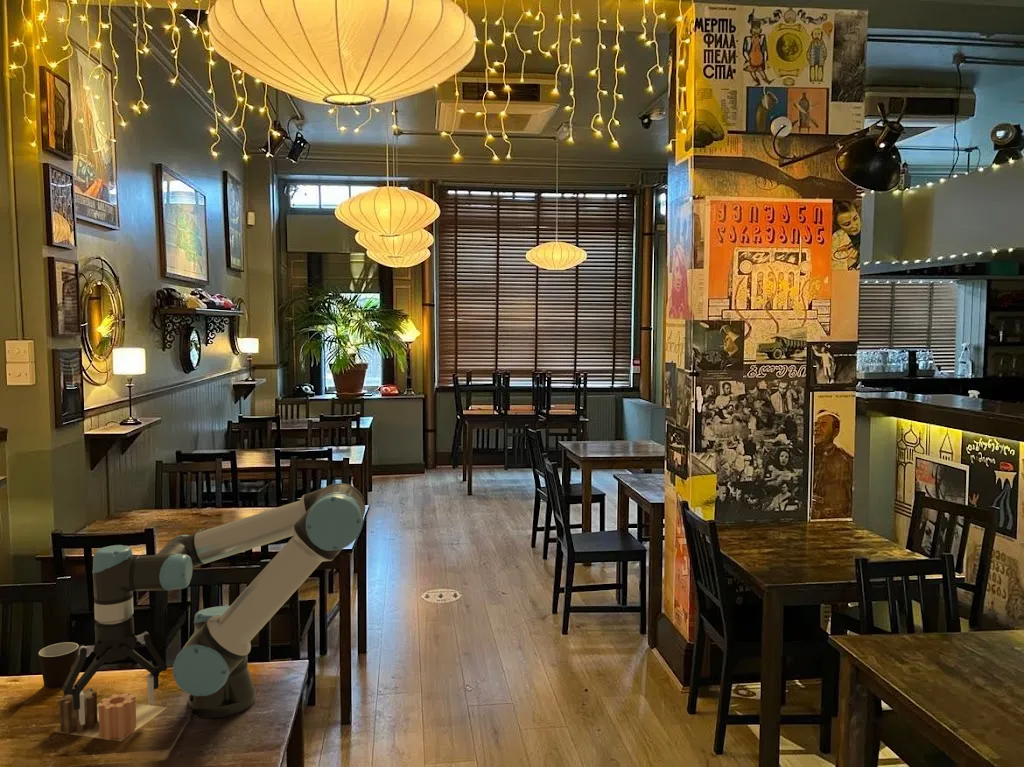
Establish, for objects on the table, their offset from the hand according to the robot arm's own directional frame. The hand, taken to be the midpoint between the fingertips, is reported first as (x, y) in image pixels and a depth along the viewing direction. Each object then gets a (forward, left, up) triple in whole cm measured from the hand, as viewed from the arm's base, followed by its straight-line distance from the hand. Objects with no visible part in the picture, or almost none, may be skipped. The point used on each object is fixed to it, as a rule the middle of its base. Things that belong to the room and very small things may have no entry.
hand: (117, 712), depth 166 cm
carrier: (+5, -4, -6) cm, 9 cm away
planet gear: (0, 0, -4) cm, 4 cm away
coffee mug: (+31, -18, -6) cm, 36 cm away
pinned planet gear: (+10, 0, -4) cm, 11 cm away
